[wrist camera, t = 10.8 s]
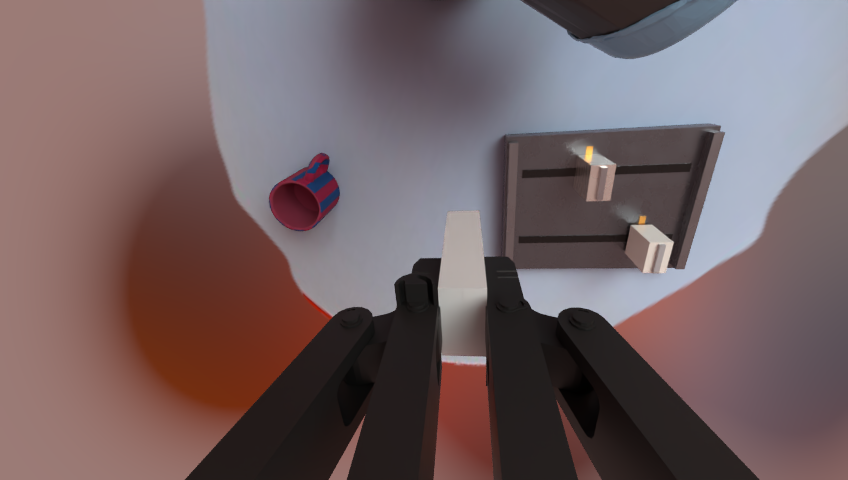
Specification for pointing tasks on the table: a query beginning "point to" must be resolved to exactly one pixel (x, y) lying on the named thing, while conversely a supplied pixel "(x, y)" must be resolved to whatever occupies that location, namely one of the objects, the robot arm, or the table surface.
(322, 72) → the table surface
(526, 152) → the console
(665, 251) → the fader tab
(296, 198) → the mug
